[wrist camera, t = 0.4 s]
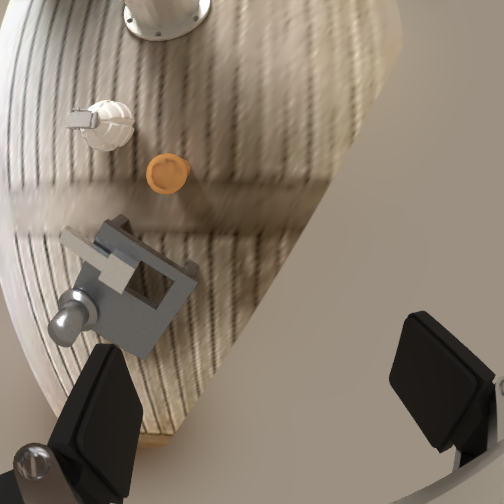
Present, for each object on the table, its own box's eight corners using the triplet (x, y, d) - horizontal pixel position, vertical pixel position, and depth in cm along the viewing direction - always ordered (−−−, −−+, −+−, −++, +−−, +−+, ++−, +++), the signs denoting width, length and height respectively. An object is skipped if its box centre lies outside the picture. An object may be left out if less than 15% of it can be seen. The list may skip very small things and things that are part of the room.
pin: (157, 173, 37) (138, 180, 28) (175, 148, 36) (161, 145, 27) (182, 190, 38) (171, 202, 29) (200, 165, 37) (194, 167, 28)
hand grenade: (88, 149, 34) (40, 150, 22) (96, 105, 33) (50, 90, 20) (138, 153, 36) (103, 153, 24) (146, 107, 34) (115, 88, 22)
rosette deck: (59, 283, 40) (20, 324, 28) (98, 196, 37) (54, 215, 25) (148, 340, 45) (133, 395, 33) (200, 264, 42) (195, 308, 30)
